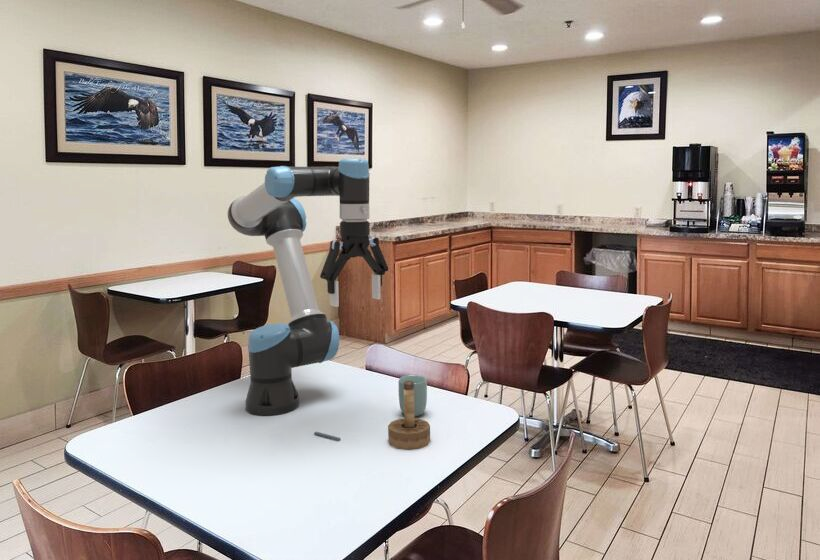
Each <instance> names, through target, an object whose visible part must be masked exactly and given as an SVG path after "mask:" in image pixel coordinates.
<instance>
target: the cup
mask: <svg viewBox="0 0 820 560" xmlns="http://www.w3.org/2000/svg"><path fill="white" fill-rule="evenodd" d="M427 380H428V379H427V378H426V377H425V376H423V375H418V374H416V375H415V374H410V375H403V376H401V377H399V378H398V386H397V387H398V402H399V409H400V411H401V412H402V414H403V415H404V382H405V381H413V382H414V418H416V417H420V416H421V415H422V414H424V412H425V410H426V408H427V404H428V403H427V402H428V400H427V399H428V381H427Z"/></svg>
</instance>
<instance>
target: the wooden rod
mask: <svg viewBox="0 0 820 560" xmlns="http://www.w3.org/2000/svg"><path fill="white" fill-rule="evenodd" d="M403 416H404V426H405V428H407V429H410V428H415V418H416V417H414V382H413V381H405V382H404V414H403Z"/></svg>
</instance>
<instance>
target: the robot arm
mask: <svg viewBox="0 0 820 560" xmlns="http://www.w3.org/2000/svg"><path fill="white" fill-rule="evenodd" d="M370 176H371V174H370V168H369V161H368V159H366V158H341V159H340V160H339V162H338V166H332V165H331V166H286V165H280V166H271V167H269V168H268V169H267V170H266V173H265V175H264V182H263V183H262V184H261V185H259V186H257V188H255V189H253V190H252V191H251V192H250V193H249V194H246V195H242V196H238V197H237V198H235V200H233V201H232V202H231V203H230V205H229V207H228V209H227V219H228V222H229V225H230V226H231V227H232V228H233V229H234V230H235V231H236V232H238V233H240V234H241V235H244V236H247V237H249V236H250V237H261V236H262V237H264V238H265V242H266V244H267V245H268V246H270V247H272V248H273V252H274V257H275V260H276V263H277V267H278V268H277V269H278V272H279V276H280V279H281V283H282V287H283V290H284V295H285V298H286V299H285V300H286V303H287V306H288V310H289V314H290V317H291V318H290V320H289V321H288V323H279V322H278V323H275V324H274V323H272V324H271V323H270V324H267V325H263V326H259V327H257V328H255V329H253V330H252V331H250V333H249V335H248V346H247V350H248V351H247V352H248V362H249V375H250V376H249V377H250V384H249V386H248V390H247V394H246V399H245V401H244V402H245V403H244V404H245V411H247V413H249V414H252V415H257V416H275V415H280V414H281V415H282V414H286V413H289V412H291V411H293V410H296V409H297V408H299V406H300V397H299V394H298V392H297V388H296V386H295V384H294V381H293V377H292V376H293V375H292V369H293V368H299V367H303V366H309V365H313V364H318V363H319V364H321V363H323V362H328V361H330V360H331V361H332V360H333V358H335V357H336V355H337V354H338V352H339V347H340V332H339V329H338V326H337V324H335V322H334V321H332V320H328V319H327V315H326V313H325V312H323V311H321V310H320V308H319V304H318V302H317V297H316V294H315V293H316V292H315V291H314V286H313V283H312V279H311V275H310V273H309V272H310V271H309V268H308V266H307V265H308V263H307V261H306V257H305V254H304V249H303V247H302V243H301V239H302V238H303V236H304V231H306V228H307V221H306V220H307V215H306V211H305V208H304V207H303V205H302V203H301V202H300V201H299V200H298V199H296V198H297V197H300V198H301V197H329V196H331V197H333V196H336V197H338V198H339V220H341V221H340V222H339V234H340V236H341V237H340V238H341V239H340V241H338V240H331V241H330V243H329V244H330V245H329V252H328V253H327V257H326V259H325V262H324V264H323V266H322V269H321V272H320V275H319V277H320V279H322V280H325V281H326V282H327V283H326V285H327V293H328V294H329V305H330V306H332V307H335V308H338V307H340V305H339V303H340V301H339V299H340V298H339V291H340V290H339V289H340V288H339V280H337V278H338V277H339V275H340V273H341V272H342V270H343V269H344V267H345V265H346V264H347V262H348V260H350V259H351V258H353V259H354V258H357V257H358V258H359V257H362V258H363V260H364V261H365V262H366V263H367V265H368V267H369V268H370V269H371V270H372V272H374V273H371V298H372V299H374V300H381V287H382V285H383V276H384V275H385V274H386V272H388V271H389V267H388V264H387V261H386V259H385V256H384V254H383V251H382V249H381V247H380V242H379V241H380V240H379V238H378V237H374V236H373V237H372V236H370V233H371V232H370V231H371V230H370V229H371V227H370V221H369V219H370ZM369 236H370V237H369ZM369 248H370V250H371V251H370V250H369ZM340 250H341V251H340Z"/></svg>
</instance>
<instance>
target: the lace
mask: <svg viewBox="0 0 820 560" xmlns="http://www.w3.org/2000/svg"><path fill="white" fill-rule="evenodd" d="M313 435H314V436H317V437H321V438H324V439H329V440H333V441H336V442H339V441H341V437H338V436H335V435H331V434H327V433H323V432H319V431H315V432H313Z"/></svg>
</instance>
